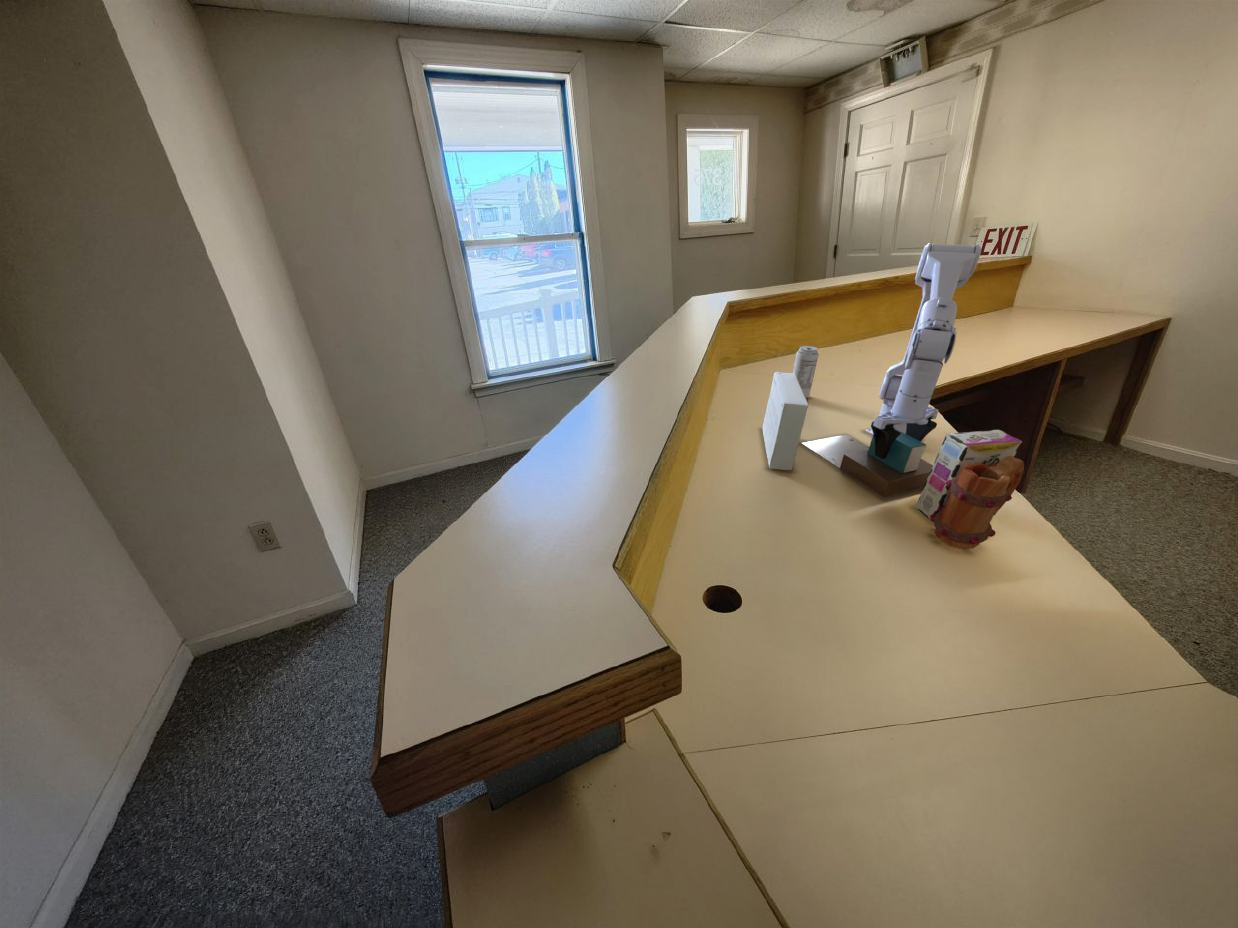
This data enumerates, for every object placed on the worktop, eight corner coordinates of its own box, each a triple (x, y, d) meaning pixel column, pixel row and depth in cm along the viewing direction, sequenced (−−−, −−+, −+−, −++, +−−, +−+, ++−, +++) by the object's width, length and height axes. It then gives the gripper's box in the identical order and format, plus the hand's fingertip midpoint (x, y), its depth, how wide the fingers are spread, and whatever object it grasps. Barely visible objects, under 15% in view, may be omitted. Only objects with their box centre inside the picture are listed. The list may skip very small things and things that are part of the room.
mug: (959, 562, 75) (997, 485, 67) (914, 533, 81) (944, 461, 74) (1014, 539, 80) (1055, 465, 72) (967, 513, 86) (1000, 444, 79)
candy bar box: (933, 524, 84) (967, 445, 75) (913, 508, 88) (944, 432, 80) (985, 517, 85) (1024, 440, 77) (963, 502, 90) (998, 427, 81)
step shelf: (846, 435, 115) (850, 421, 113) (934, 485, 95) (941, 469, 93) (800, 444, 111) (804, 429, 109) (883, 498, 91) (888, 481, 89)
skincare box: (794, 472, 100) (809, 405, 92) (768, 469, 101) (781, 403, 93) (783, 430, 118) (795, 371, 110) (761, 429, 119) (771, 370, 111)
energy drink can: (806, 393, 141) (816, 345, 133) (811, 400, 135) (822, 351, 128) (786, 392, 141) (795, 344, 133) (790, 400, 136) (800, 350, 128)
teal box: (881, 450, 100) (889, 425, 97) (917, 470, 93) (927, 444, 90) (867, 453, 99) (874, 428, 96) (902, 473, 91) (912, 447, 88)
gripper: (904, 405, 83) (882, 468, 89) (961, 395, 87) (936, 456, 94) (873, 391, 88) (855, 452, 95) (928, 383, 93) (907, 441, 99)
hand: (893, 453), depth 95 cm, fingers open, 7 cm apart
